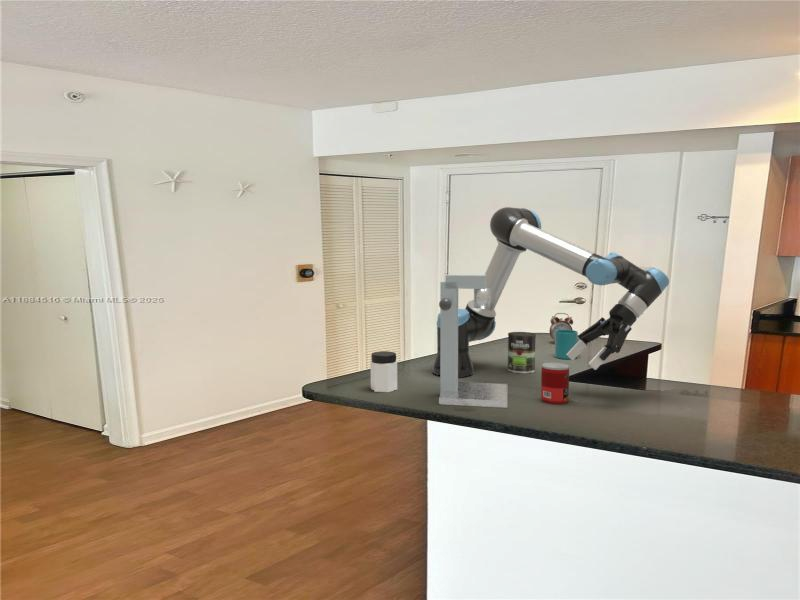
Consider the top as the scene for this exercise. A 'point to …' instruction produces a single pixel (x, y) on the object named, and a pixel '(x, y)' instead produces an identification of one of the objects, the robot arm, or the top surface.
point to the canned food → (555, 383)
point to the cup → (564, 342)
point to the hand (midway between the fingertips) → (580, 362)
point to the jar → (383, 371)
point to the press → (449, 384)
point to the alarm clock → (560, 324)
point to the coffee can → (521, 352)
